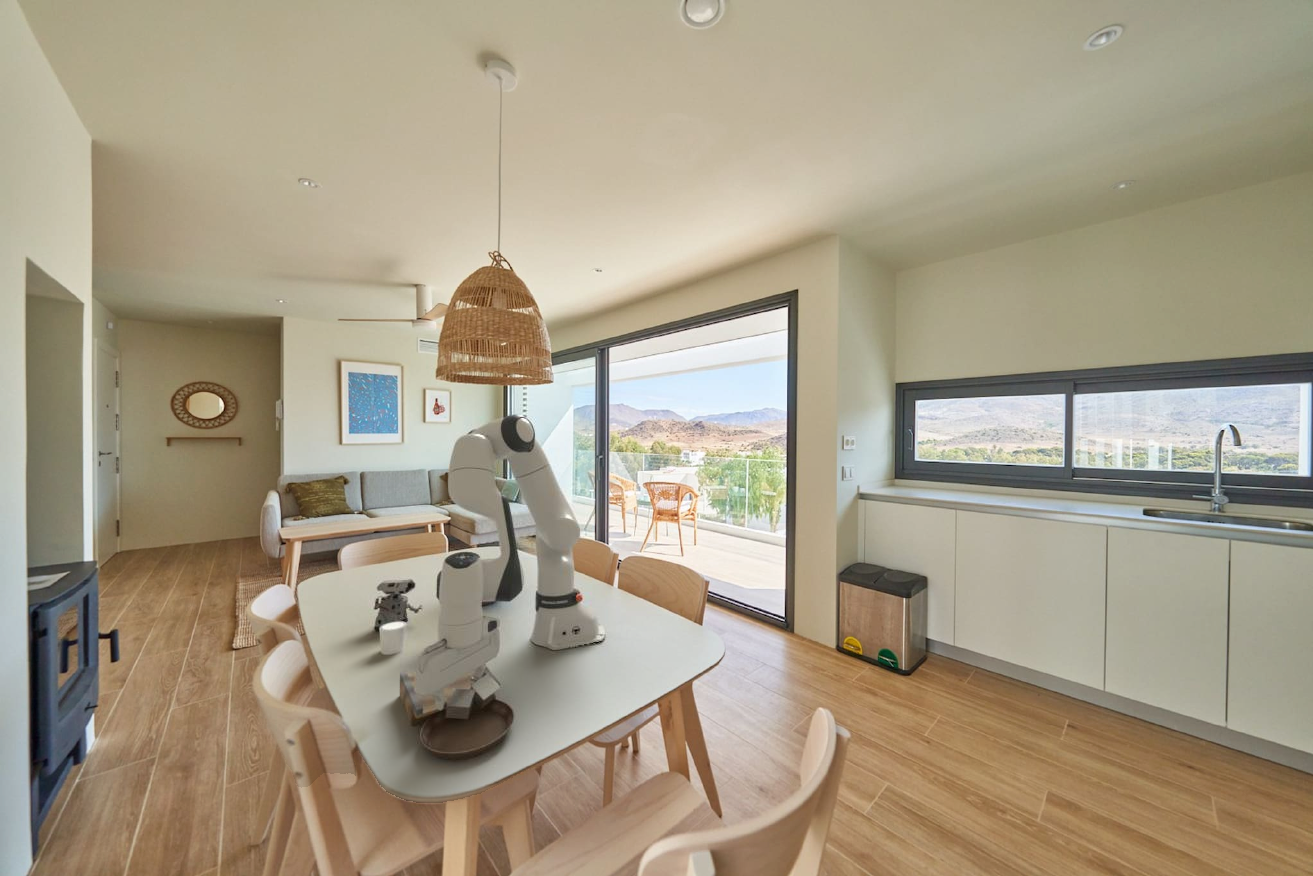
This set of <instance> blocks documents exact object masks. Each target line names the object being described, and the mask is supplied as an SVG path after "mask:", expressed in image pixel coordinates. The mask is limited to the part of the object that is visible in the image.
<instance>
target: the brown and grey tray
mask: <svg viewBox="0 0 1313 876" xmlns="http://www.w3.org/2000/svg"><path fill="white" fill-rule="evenodd" d="M474 673H475V670H474V671H472V672H470V673H469V674H467V675H465V676H464V677H462V678H460V679H459V680H457V681H456V682H454V683H452V684H451V685H449V686H447V687H446V688H444V693H443V694H442V696H443V697H444V698H448V702H449V699H450V697H451V694H452V692H453V689H454V688H455V689H467V690H470V687H471V678H472V677H473V676H474ZM486 674H489V675H490V676H491V677H492V678H493V679H494V680H495V681H496V682H497V683H498V685H499V686H500V687H501V683H500V681H499V680H498V678H496V677H495V675H494V674H493V672H492V671H491V670H490V669H489V668H488V667H487V666H486V668H485V670H484V673H483V675H482V677H484V676H485V675H486ZM415 675H416V673H413V674H409V675H408V673H407V670H405V671H402V672H399V698H400V700H401V703H402V706H403V708H404V711H405V713H406V716H407V718H408V721H409V723H410V726H414V725H418V724H420V723H423V722H424V723H425V722H426V721H427V720H428V719H429V718H430V717H431V716H432V715H433V714H435V713H436V712H439V711H442V710H445V709H447V706H446V707H445V708H443V709H442V710H438V709H436V707H435V704H436V700H435V699H434V698H433V696H431V697H423V696H420V695H418V694H417V693H416V692H415V691H414V684H415ZM500 692H501V690H500V691H499V693H500ZM448 702H447V704H448Z"/></svg>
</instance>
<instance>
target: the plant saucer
mask: <svg viewBox="0 0 1313 876" xmlns="http://www.w3.org/2000/svg"><path fill="white" fill-rule="evenodd" d="M514 721H515V711H514V709H513V708H512V706H511V705H509V704H508V703H506V702H505V701H503V700H501V699H497V698H495V699H493V700H492V701H491V702H490V703H488V704H487V705H486V706H484V707H483V708H482V709H481V708H480V707H479V706H478V705H477V704H476V702H475V701H474V702H473V705H472V708H471V711H470V714H469V717H468V719H460V718H446V709H445V710H442V711H439V712H436V713H435V714H433V715H432V716H431V717H430V718H429V719H428V720H427V721H424V723H423V725H422V726H421V729H420V733H419V738H420V742H421V743H422V745H423V746H424V747H425V749H427V750H428V751H429V752H430V753H432V755H434V756H436V757H439V758H440V759H445V760H451V761H453V760H455V761H456V760H457V761H458V760H464V759H469V758H470V759H471V758H473V757H476V756H479V755H482V754H484V753H486V752H488V751H490V750H491V749H492V748H494V747H495V746H496V745H497V744H499V743H500V742H501V741H502V740H503V738H505V736H506V735H507V733H508V732H509V730H510V729H511V728H512V726H513V724H514Z"/></svg>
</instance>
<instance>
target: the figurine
mask: <svg viewBox="0 0 1313 876" xmlns="http://www.w3.org/2000/svg"><path fill="white" fill-rule="evenodd" d="M416 584H417V583H416V582H415V581H414V580H413V579H396V580H395V579H393V580H392V579H391V580H384V581H382V582H380V584H378V585H377V586H376V590H377V591H378V592H379V591H381V592H382V593H384V596H382V595H381V596H378V597H377V598H375V601H374V606H373V607H374V608H373V610H374V611H375V610H378V609H379V610H378V612H377V616H376V617H375V623H374V626H373V627H374V628H373V630H374V632H380V631H379V628H380V626H382V625H384V624H386V623H390V622H396V621H403V622H406V623H407V622H408V621H409V618H408V613H407V612H408V611H407V609H409V611H412V612H414V614H418V613H419V612H420V611H419V610H423V605H422V604H420V606H419V607H418V608H416V607H414V606H411V604H410V603H408V601H409V597H408V596H407V594H408V593H410V592H412V591H413V590H415V588H416ZM379 601H380V602H379Z"/></svg>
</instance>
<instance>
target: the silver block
mask: <svg viewBox="0 0 1313 876" xmlns="http://www.w3.org/2000/svg"><path fill="white" fill-rule="evenodd" d="M470 690H475V696H474V701H475V702H476V704H477V705H478V706H479V707H480V708H481V709H482V708H483V707H484V706H486V705H487V704H488V703H490V702H491V701H492V700H493V699H497V697H498V696H499V694H500V692H501V685H500V686H499V685H498V683H497V682H496V681H495V680H494V679H493V678H492V677H491V676H490V675H489V674H486V675H485V676H484V677H482V678H481V679H479V680H478V681H477V682H475V683H474V684H472V685H471V687H470ZM499 691H500V692H499Z"/></svg>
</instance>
